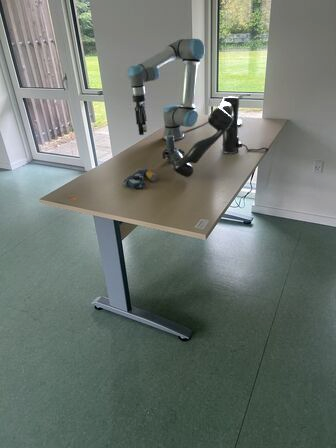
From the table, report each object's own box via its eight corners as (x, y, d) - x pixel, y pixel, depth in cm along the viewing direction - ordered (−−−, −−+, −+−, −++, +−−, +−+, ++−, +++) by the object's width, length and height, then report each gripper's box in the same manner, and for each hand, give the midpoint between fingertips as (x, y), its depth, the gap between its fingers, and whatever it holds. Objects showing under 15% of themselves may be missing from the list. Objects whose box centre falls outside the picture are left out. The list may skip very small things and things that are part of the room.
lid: (148, 129, 207) (147, 126, 206) (139, 131, 206) (138, 127, 205) (145, 127, 212) (145, 124, 211) (137, 129, 210) (136, 125, 209)
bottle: (166, 161, 208) (164, 137, 200) (169, 159, 211) (167, 134, 204) (174, 162, 206) (172, 137, 198) (176, 159, 210) (174, 135, 202)
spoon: (234, 136, 244) (234, 133, 243) (220, 136, 248) (220, 133, 247) (243, 120, 270) (243, 118, 269) (230, 120, 274) (230, 118, 273)
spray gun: (162, 175, 189) (139, 172, 195) (161, 168, 187) (138, 166, 193) (144, 191, 174) (120, 188, 180) (143, 184, 171) (119, 181, 178)
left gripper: (137, 91, 207) (141, 129, 219) (127, 97, 191) (132, 137, 203) (149, 91, 205) (152, 129, 217) (140, 97, 189) (144, 137, 201)
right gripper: (188, 150, 193) (180, 142, 207) (164, 154, 191) (158, 145, 205) (188, 163, 197) (181, 153, 211) (165, 166, 195) (159, 157, 209)
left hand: (142, 133), depth 210 cm, fingers closed on lid, 6 cm apart
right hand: (170, 149), depth 208 cm, fingers closed on bottle, 5 cm apart
